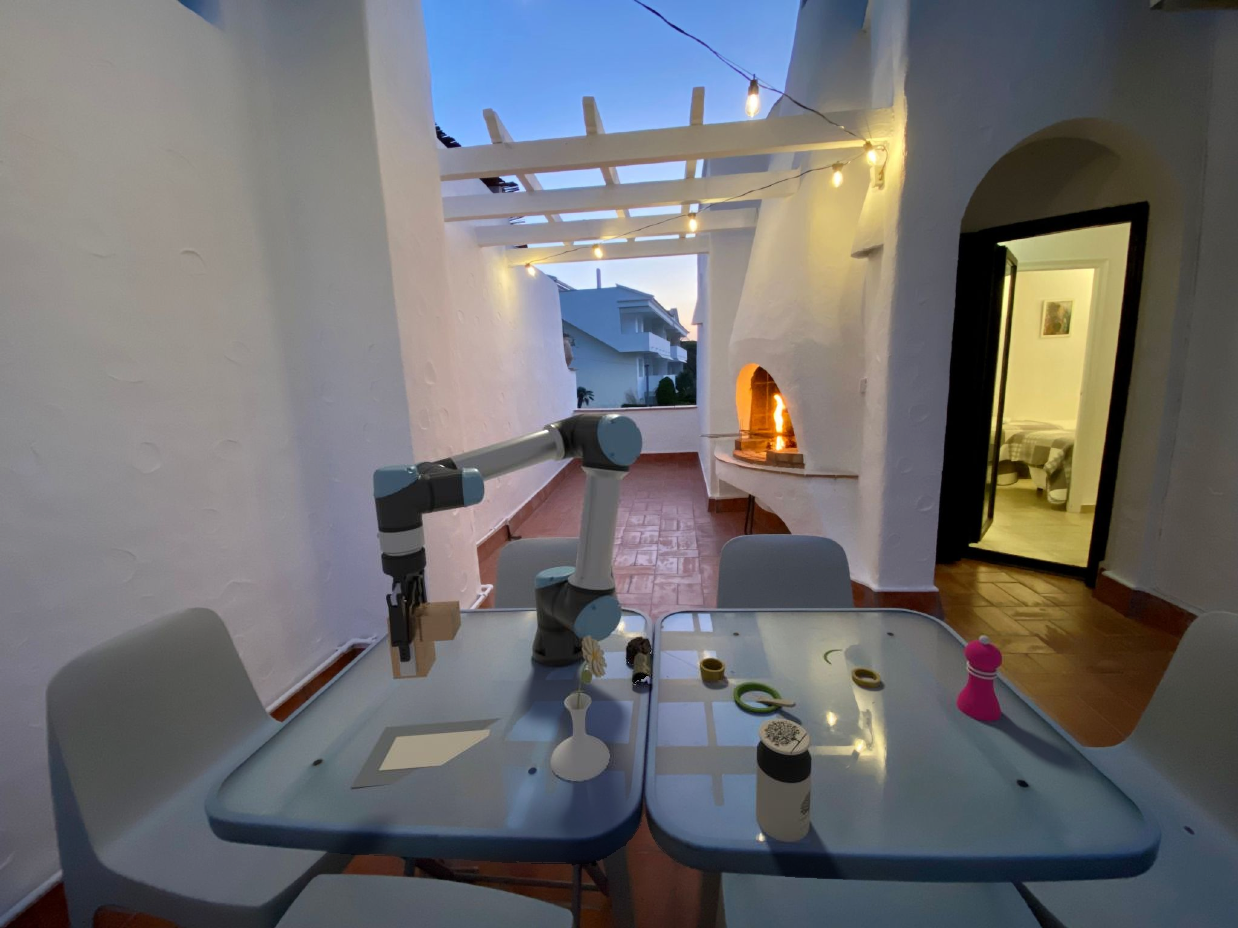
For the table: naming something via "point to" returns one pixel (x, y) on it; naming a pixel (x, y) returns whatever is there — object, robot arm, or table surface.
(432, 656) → the wooden l-shaped block
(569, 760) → the flower in vase
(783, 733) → the travel mug
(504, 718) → the table surface
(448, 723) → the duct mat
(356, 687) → the table surface
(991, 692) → the pepper mill
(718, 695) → the table surface
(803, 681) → the table surface
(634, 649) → the brown olive knobbed cylinder
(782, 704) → the tableware set
